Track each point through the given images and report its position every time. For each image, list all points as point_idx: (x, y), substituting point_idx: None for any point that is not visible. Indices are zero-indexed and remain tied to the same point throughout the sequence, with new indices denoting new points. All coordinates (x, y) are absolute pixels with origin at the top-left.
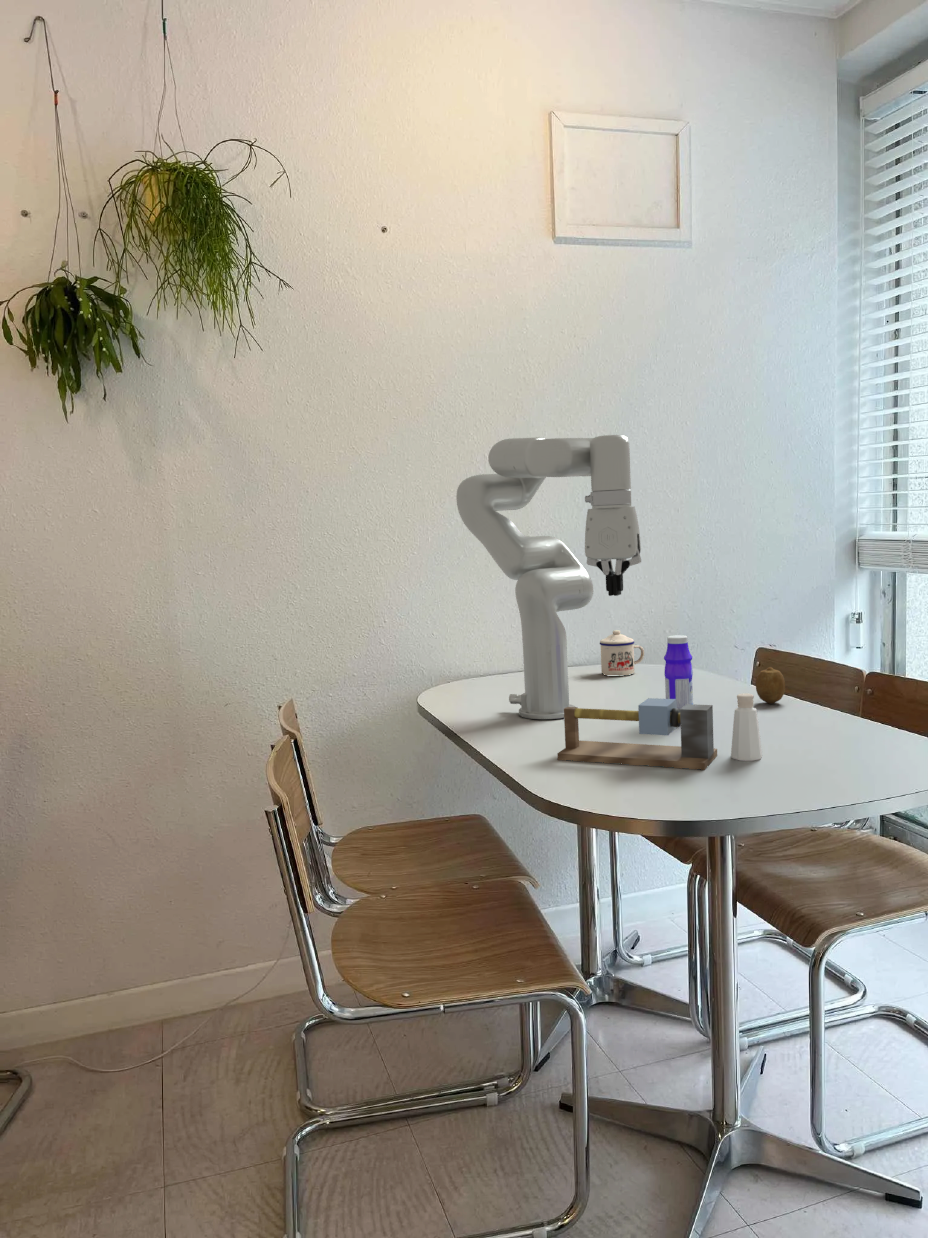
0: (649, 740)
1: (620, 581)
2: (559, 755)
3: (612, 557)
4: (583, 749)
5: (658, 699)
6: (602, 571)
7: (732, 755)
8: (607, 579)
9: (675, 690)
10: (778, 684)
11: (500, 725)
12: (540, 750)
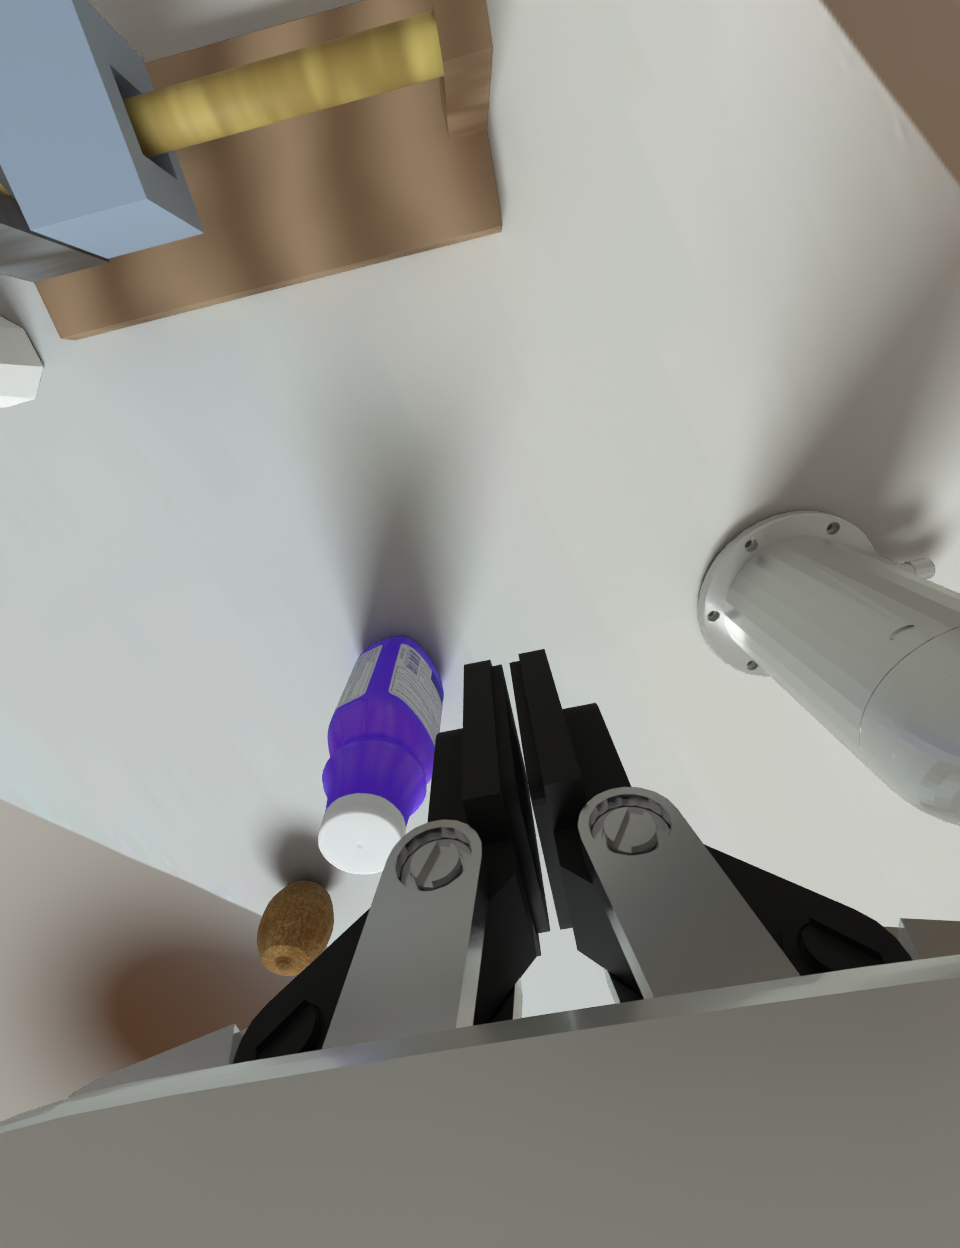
0: (347, 425)
1: (433, 790)
2: None
3: (425, 1057)
4: (408, 94)
5: (89, 186)
6: (711, 849)
7: (10, 324)
8: (602, 778)
9: (371, 675)
10: (262, 918)
11: (874, 398)
12: (590, 111)
